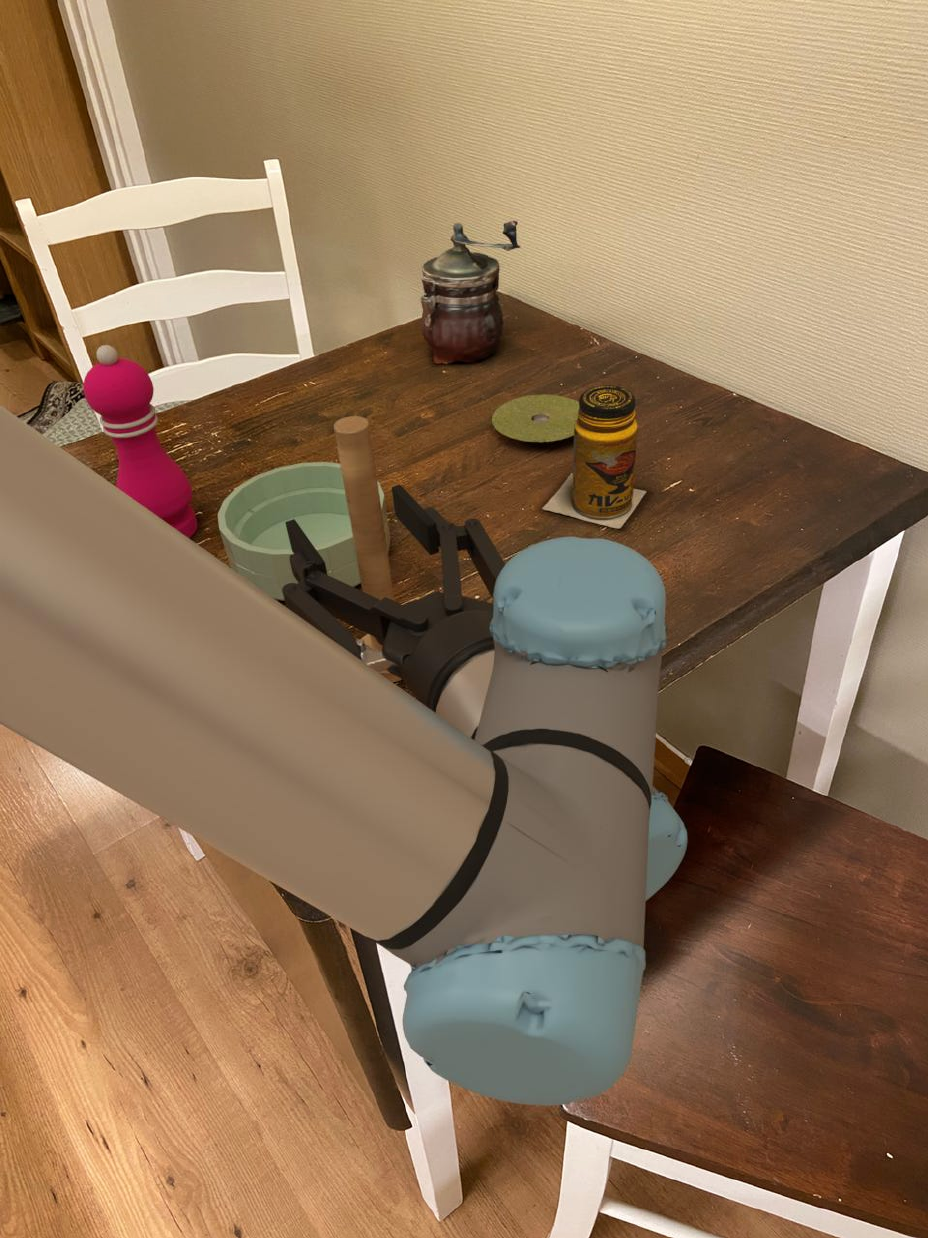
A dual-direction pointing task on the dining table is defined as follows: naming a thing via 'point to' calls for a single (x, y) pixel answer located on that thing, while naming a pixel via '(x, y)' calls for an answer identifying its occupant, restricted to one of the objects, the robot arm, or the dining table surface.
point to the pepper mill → (138, 439)
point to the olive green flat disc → (537, 418)
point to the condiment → (602, 460)
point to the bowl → (280, 497)
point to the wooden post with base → (365, 513)
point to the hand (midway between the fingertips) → (346, 517)
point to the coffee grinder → (463, 300)
